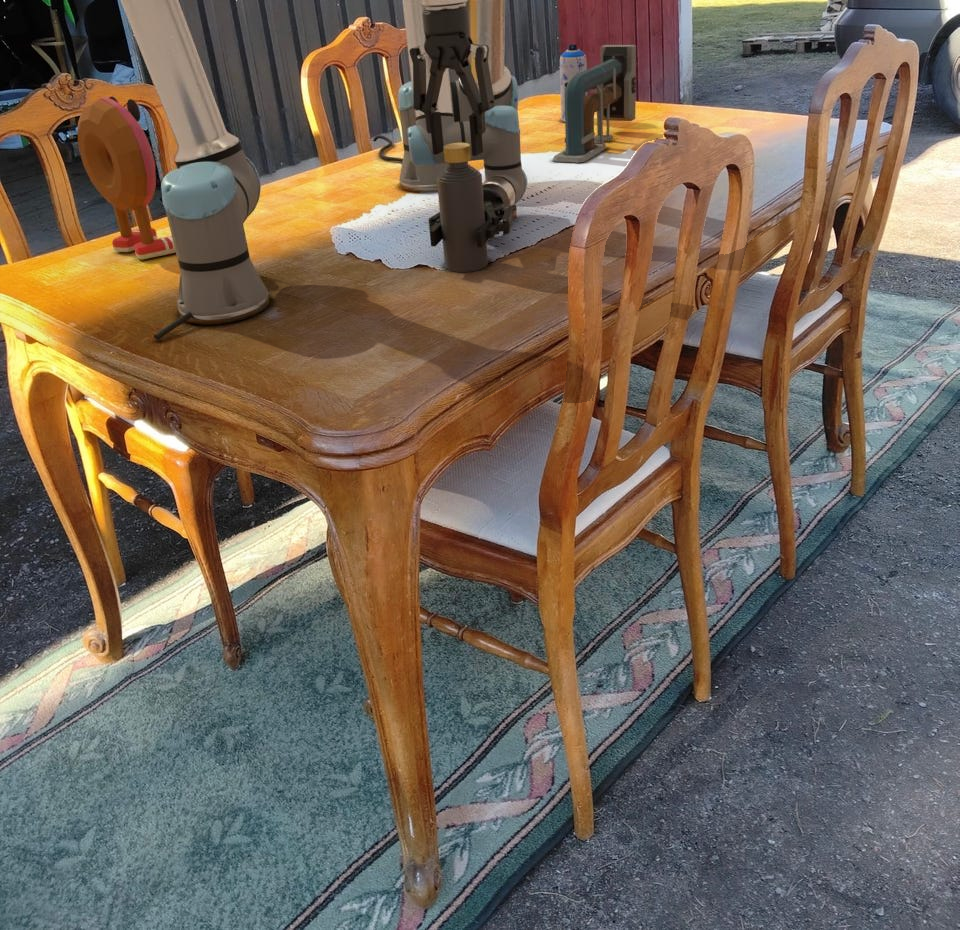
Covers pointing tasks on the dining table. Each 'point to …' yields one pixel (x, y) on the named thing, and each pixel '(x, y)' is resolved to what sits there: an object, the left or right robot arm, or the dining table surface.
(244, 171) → the left robot arm
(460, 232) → the bottle
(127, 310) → the dining table surface
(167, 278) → the dining table surface
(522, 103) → the dining table surface
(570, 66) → the aerosol can
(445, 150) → the cap
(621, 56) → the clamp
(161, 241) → the toy
